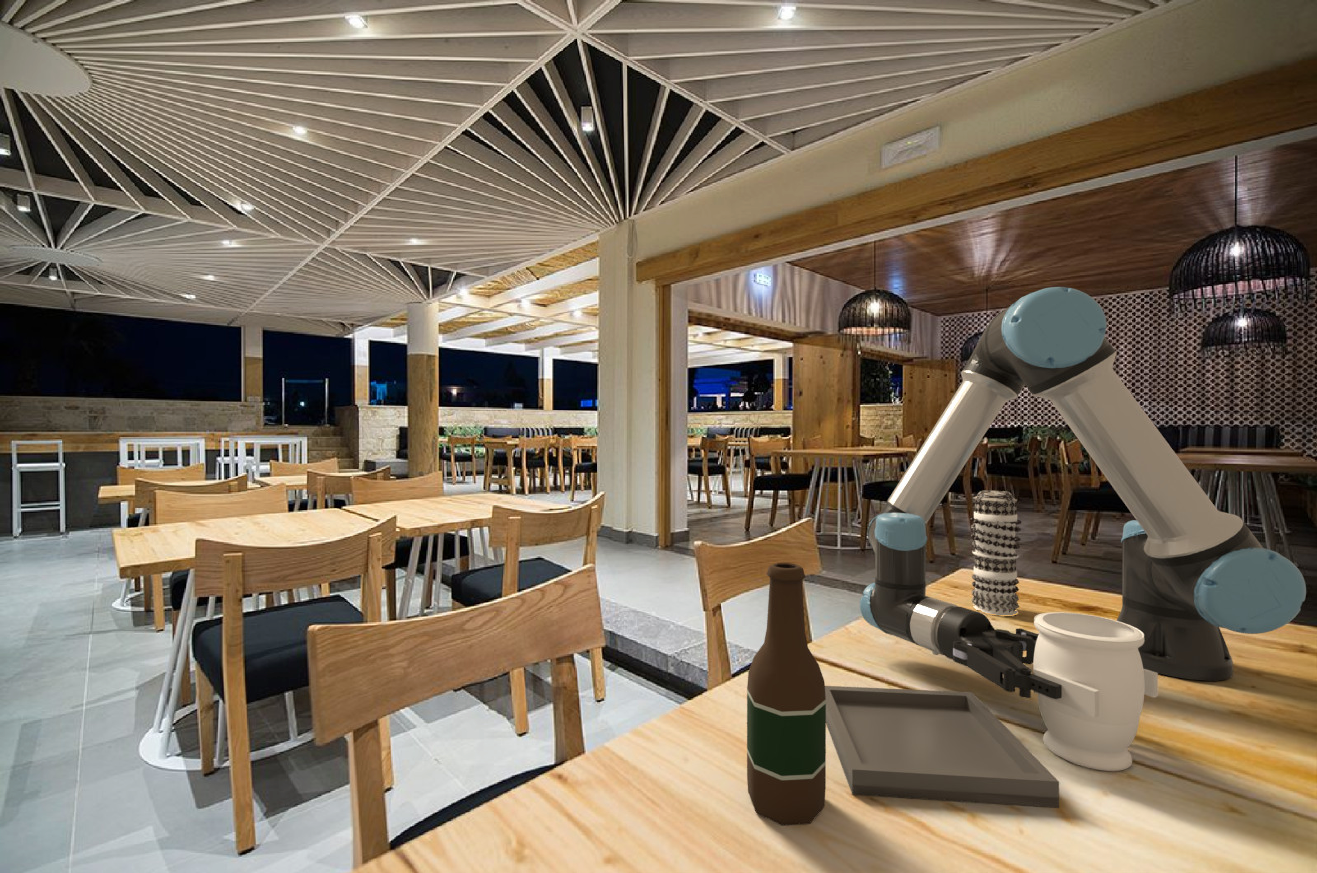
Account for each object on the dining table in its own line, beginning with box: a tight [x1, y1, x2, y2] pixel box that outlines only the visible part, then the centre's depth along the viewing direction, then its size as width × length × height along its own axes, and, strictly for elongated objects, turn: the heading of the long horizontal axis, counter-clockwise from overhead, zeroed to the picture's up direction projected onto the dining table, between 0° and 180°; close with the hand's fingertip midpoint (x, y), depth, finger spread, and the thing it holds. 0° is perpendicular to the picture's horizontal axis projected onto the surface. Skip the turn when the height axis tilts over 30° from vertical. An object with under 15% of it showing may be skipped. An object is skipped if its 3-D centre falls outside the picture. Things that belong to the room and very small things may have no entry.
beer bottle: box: [746, 562, 827, 826], centre depth 59 cm, size 8×8×24 cm
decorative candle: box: [970, 490, 1022, 615], centre depth 122 cm, size 9×9×25 cm
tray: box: [825, 685, 1060, 808], centre depth 69 cm, size 20×20×3 cm
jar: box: [1032, 611, 1145, 772], centre depth 68 cm, size 11×10×15 cm
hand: (1127, 694), depth 64 cm, fingers closed on jar, 10 cm apart
